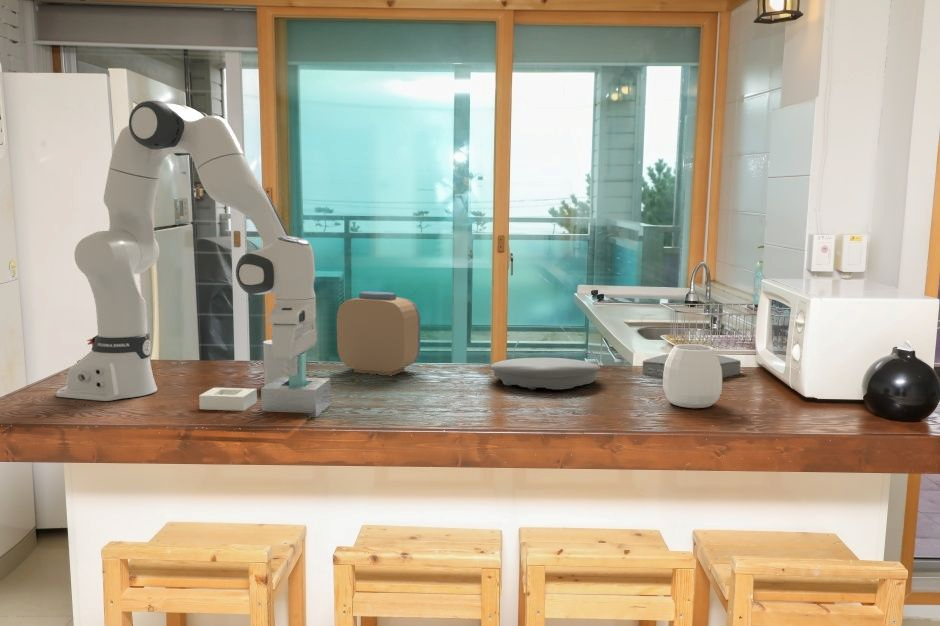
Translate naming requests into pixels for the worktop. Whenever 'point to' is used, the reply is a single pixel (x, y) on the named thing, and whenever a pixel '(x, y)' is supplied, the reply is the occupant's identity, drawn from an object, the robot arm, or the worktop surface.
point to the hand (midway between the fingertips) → (297, 372)
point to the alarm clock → (378, 333)
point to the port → (297, 396)
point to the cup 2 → (692, 376)
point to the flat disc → (545, 372)
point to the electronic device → (657, 363)
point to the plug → (301, 376)
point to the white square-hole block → (228, 399)
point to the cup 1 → (273, 364)
